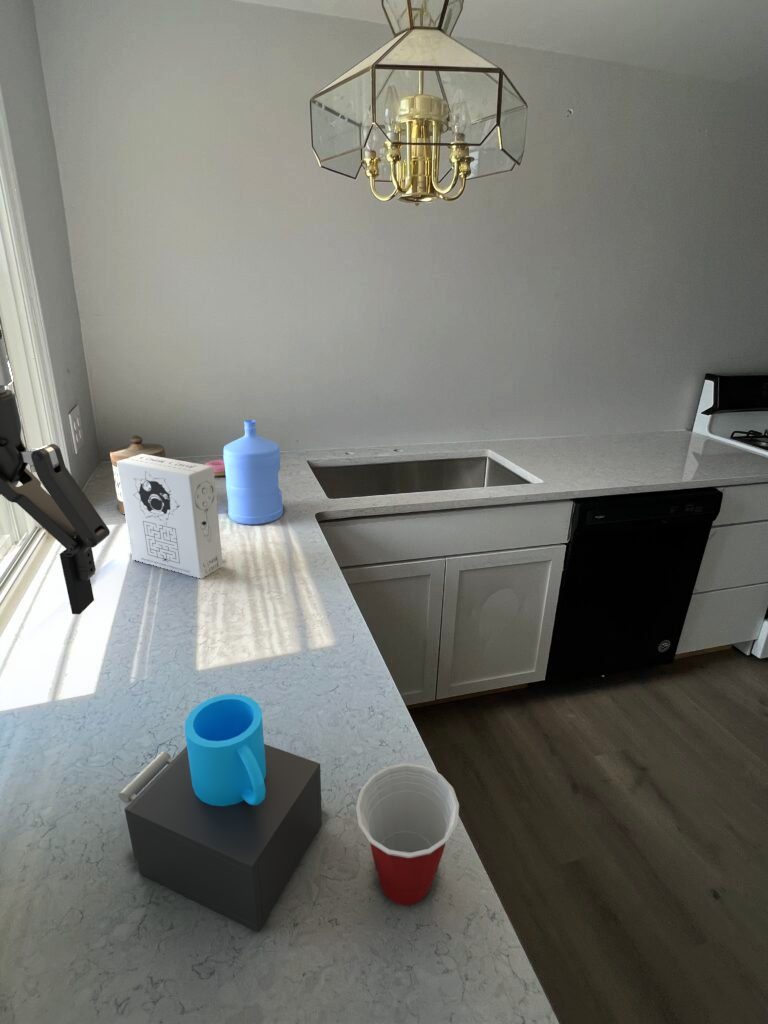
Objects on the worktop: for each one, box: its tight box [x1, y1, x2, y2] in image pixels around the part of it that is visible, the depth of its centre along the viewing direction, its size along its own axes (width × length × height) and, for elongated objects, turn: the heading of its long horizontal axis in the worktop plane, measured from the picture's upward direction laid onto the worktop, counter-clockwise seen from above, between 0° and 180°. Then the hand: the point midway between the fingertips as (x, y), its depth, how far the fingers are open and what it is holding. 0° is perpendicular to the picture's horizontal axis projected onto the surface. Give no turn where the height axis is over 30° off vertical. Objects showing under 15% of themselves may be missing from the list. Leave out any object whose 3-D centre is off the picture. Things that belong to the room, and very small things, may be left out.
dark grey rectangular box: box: [127, 743, 323, 933], centre depth 64 cm, size 16×14×10 cm
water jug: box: [222, 419, 284, 526], centre depth 158 cm, size 16×16×28 cm
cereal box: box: [117, 454, 224, 580], centre depth 129 cm, size 22×8×25 cm, turn 65°
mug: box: [184, 693, 266, 806], centre depth 61 cm, size 12×8×8 cm
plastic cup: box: [355, 762, 460, 906], centre depth 60 cm, size 11×11×12 cm
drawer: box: [118, 745, 187, 861], centre depth 65 cm, size 19×13×8 cm, turn 68°
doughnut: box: [204, 459, 226, 478], centre depth 199 cm, size 11×11×4 cm
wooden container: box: [109, 435, 167, 515], centre depth 163 cm, size 15×15×22 cm
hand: (16, 604), depth 56 cm, fingers open, 13 cm apart
